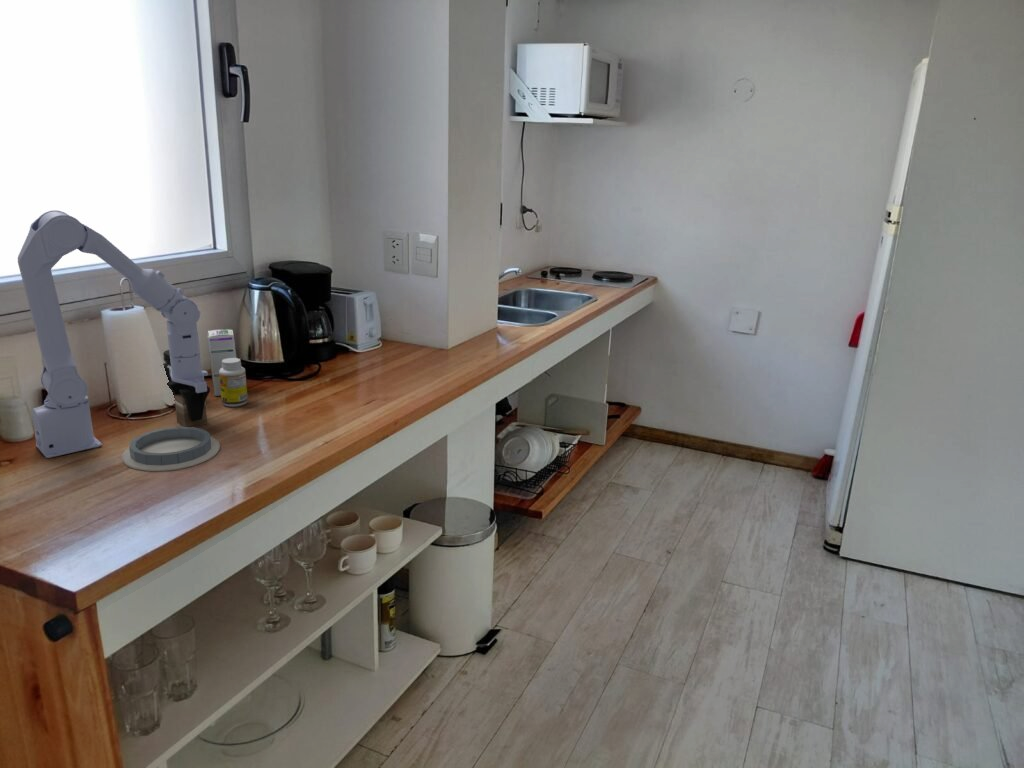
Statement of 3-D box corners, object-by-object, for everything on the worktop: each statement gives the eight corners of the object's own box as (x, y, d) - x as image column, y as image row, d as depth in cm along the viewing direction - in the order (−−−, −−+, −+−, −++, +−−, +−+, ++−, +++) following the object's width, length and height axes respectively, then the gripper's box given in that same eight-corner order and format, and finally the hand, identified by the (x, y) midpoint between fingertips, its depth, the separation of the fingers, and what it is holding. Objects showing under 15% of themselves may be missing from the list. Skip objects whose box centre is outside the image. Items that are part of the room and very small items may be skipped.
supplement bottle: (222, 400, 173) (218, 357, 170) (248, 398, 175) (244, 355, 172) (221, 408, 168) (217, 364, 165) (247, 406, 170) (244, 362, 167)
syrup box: (240, 394, 178) (235, 334, 173) (213, 396, 175) (207, 335, 171) (239, 386, 183) (234, 328, 178) (212, 389, 180) (207, 329, 176)
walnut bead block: (185, 428, 156) (182, 401, 155) (176, 422, 160) (173, 395, 158) (207, 423, 159) (204, 396, 158) (198, 417, 163) (196, 390, 161)
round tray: (141, 479, 133) (139, 466, 132) (109, 450, 145) (107, 437, 144) (234, 455, 144) (233, 442, 144) (198, 429, 156) (197, 418, 155)
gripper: (219, 358, 152) (225, 421, 157) (190, 343, 162) (196, 403, 167) (183, 364, 148) (190, 429, 152) (156, 348, 158) (163, 410, 162)
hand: (191, 416), depth 159 cm, fingers closed on walnut bead block, 4 cm apart
